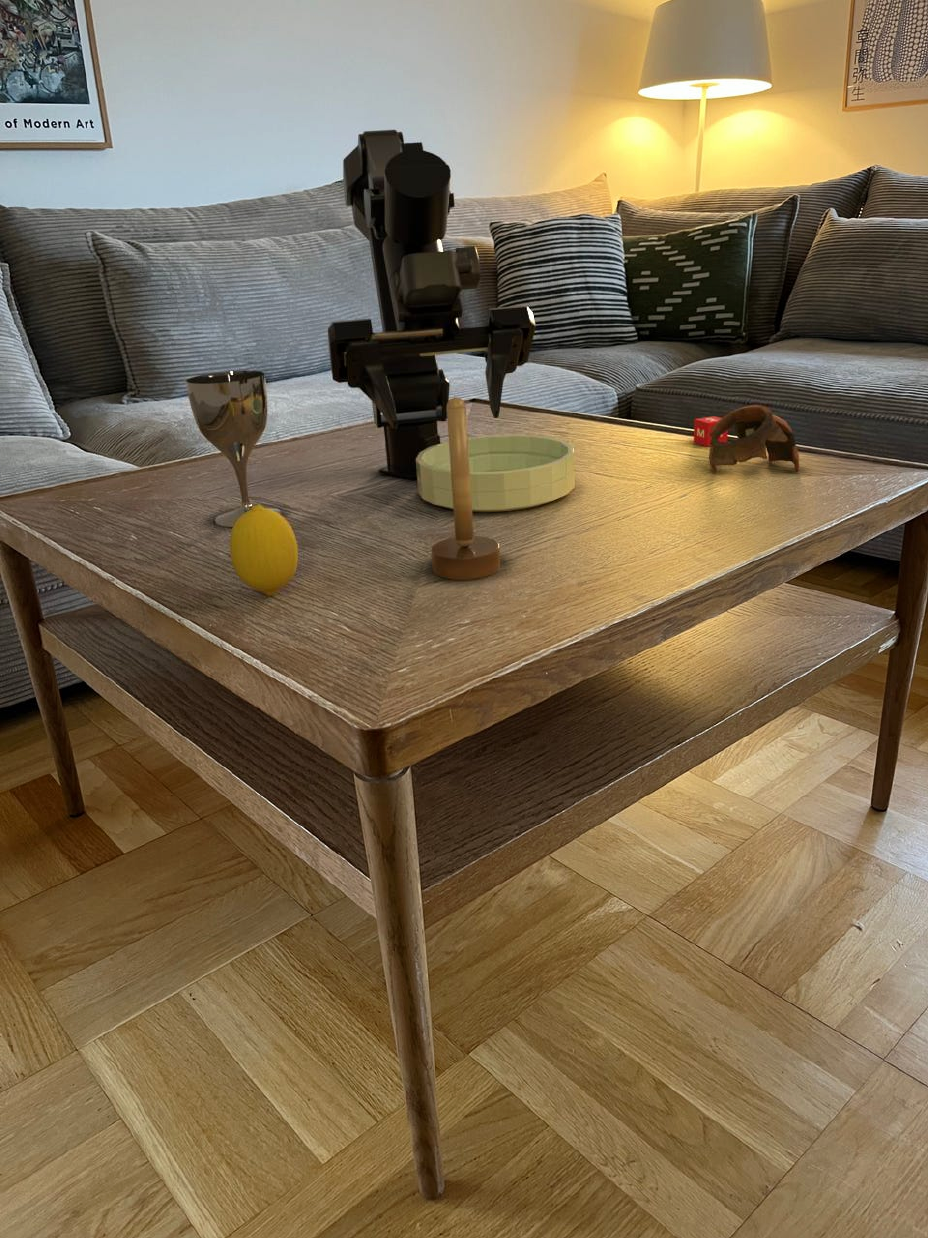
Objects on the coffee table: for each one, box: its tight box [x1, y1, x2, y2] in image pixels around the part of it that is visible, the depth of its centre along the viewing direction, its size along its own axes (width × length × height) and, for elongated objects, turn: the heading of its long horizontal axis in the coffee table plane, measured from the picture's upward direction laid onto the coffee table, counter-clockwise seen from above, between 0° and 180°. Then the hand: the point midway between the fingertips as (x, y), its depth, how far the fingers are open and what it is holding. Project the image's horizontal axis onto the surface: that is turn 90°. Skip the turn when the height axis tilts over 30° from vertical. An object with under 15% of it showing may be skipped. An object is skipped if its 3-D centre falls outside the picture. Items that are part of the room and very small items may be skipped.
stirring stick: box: [430, 397, 501, 581], centre depth 78 cm, size 6×6×15 cm
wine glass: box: [185, 370, 282, 528], centre depth 97 cm, size 8×8×15 cm
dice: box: [693, 415, 729, 448], centre depth 117 cm, size 3×3×3 cm
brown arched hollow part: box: [708, 404, 801, 473], centre depth 104 cm, size 12×10×8 cm
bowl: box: [416, 434, 576, 513], centre depth 102 cm, size 17×17×4 cm
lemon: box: [229, 504, 299, 597], centre depth 76 cm, size 6×6×8 cm
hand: (446, 420), depth 81 cm, fingers open, 9 cm apart
